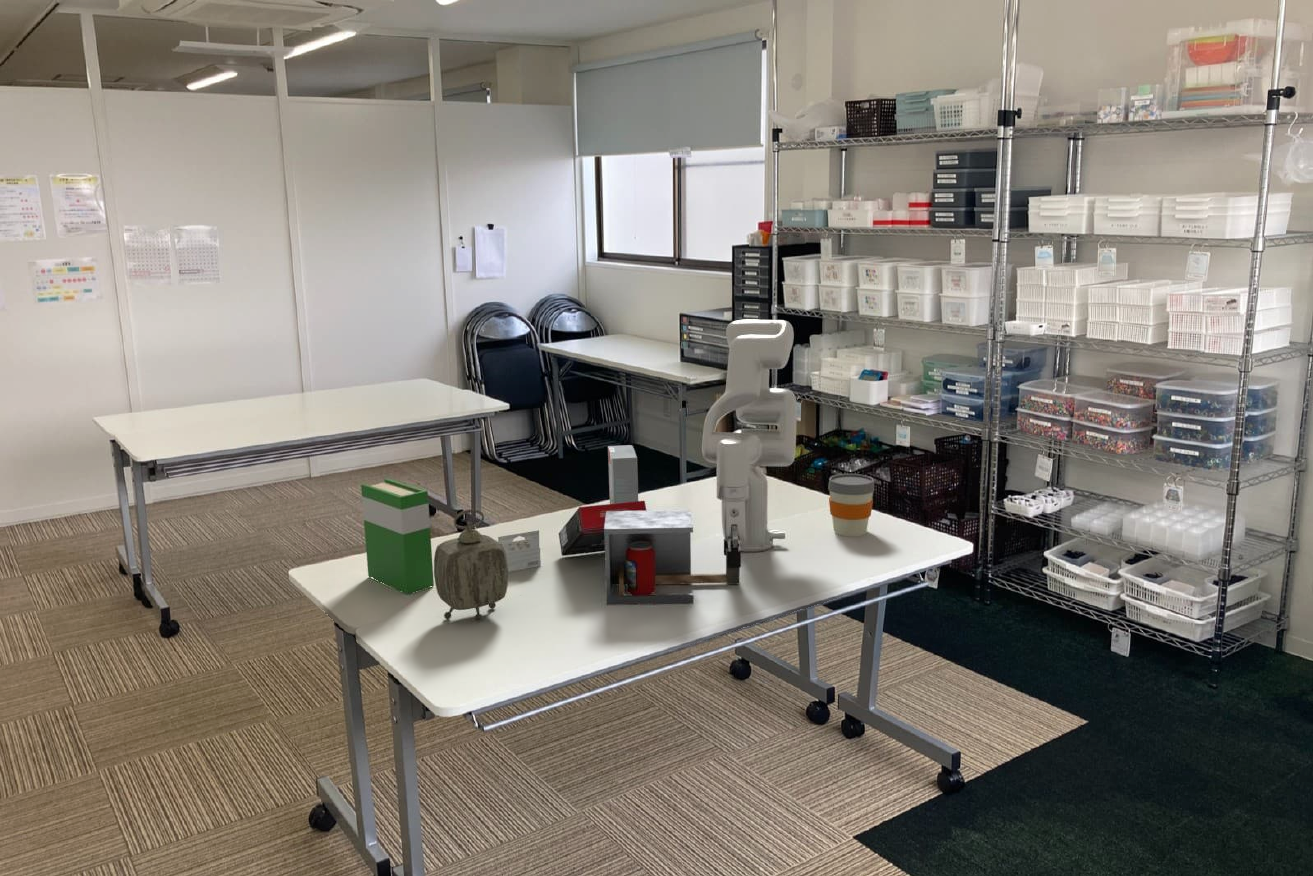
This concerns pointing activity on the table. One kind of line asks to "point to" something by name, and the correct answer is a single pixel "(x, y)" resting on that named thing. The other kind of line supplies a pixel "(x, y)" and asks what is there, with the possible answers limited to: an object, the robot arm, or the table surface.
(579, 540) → the graphics card box
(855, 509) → the reusable coffee cup
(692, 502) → the table surface
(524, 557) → the ink box
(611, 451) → the hard drive box
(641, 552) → the beverage can
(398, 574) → the hardback book
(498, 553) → the tabletop clock
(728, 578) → the pull rod
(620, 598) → the shelf lane
